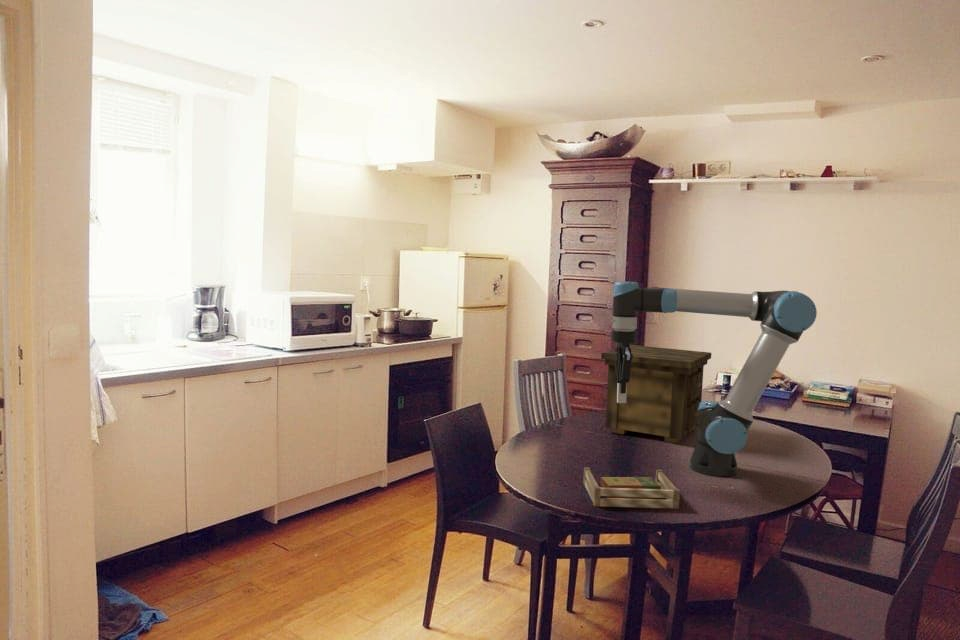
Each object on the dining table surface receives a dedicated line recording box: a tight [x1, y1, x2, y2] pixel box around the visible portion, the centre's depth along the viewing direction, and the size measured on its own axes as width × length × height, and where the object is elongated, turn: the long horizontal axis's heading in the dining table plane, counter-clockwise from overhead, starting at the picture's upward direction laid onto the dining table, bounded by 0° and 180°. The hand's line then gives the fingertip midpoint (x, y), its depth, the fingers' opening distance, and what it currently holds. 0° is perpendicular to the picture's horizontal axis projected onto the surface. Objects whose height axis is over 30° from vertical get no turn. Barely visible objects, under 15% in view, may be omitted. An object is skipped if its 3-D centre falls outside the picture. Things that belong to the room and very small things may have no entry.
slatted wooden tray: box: [582, 466, 681, 510], centre depth 187 cm, size 24×18×5 cm
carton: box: [599, 476, 661, 499], centre depth 189 cm, size 8×16×4 cm, turn 97°
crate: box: [600, 344, 712, 445], centre depth 261 cm, size 35×35×33 cm
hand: (621, 402), depth 205 cm, fingers closed
